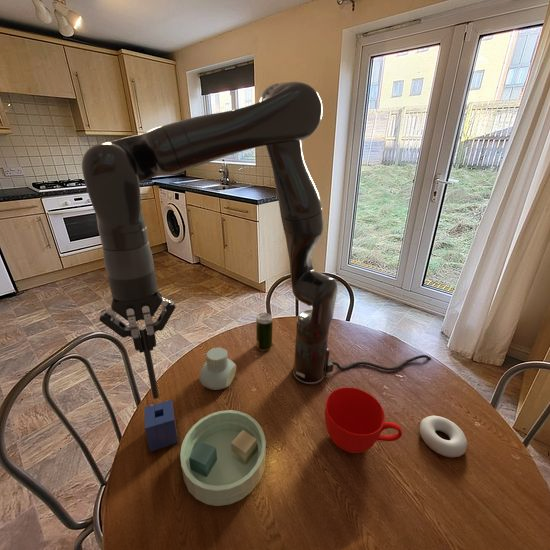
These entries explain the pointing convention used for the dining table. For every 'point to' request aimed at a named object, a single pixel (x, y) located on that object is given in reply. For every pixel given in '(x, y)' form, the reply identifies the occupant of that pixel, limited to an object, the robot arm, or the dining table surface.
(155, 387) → the stick
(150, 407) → the holder
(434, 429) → the donut
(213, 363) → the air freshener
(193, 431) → the bowl
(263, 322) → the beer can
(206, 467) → the teal block
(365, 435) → the ceramic cup
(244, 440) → the cream block
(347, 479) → the dining table surface
